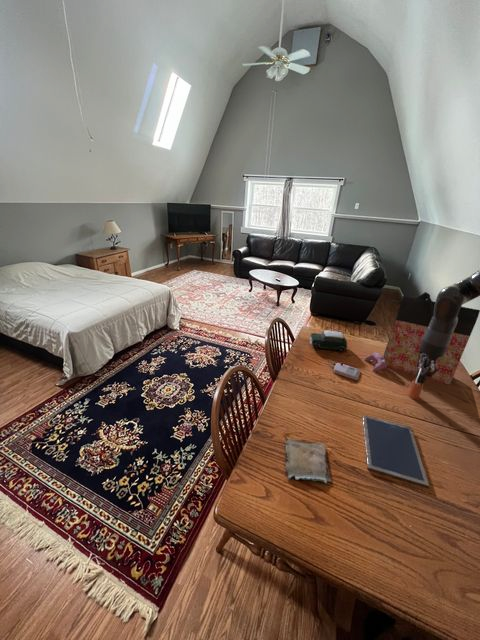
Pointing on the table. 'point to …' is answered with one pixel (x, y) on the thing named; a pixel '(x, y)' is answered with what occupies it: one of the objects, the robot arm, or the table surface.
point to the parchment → (306, 461)
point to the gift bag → (411, 332)
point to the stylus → (417, 377)
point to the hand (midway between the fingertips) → (419, 380)
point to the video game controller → (377, 361)
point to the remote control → (346, 370)
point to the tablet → (393, 451)
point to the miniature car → (329, 340)
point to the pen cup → (415, 390)
